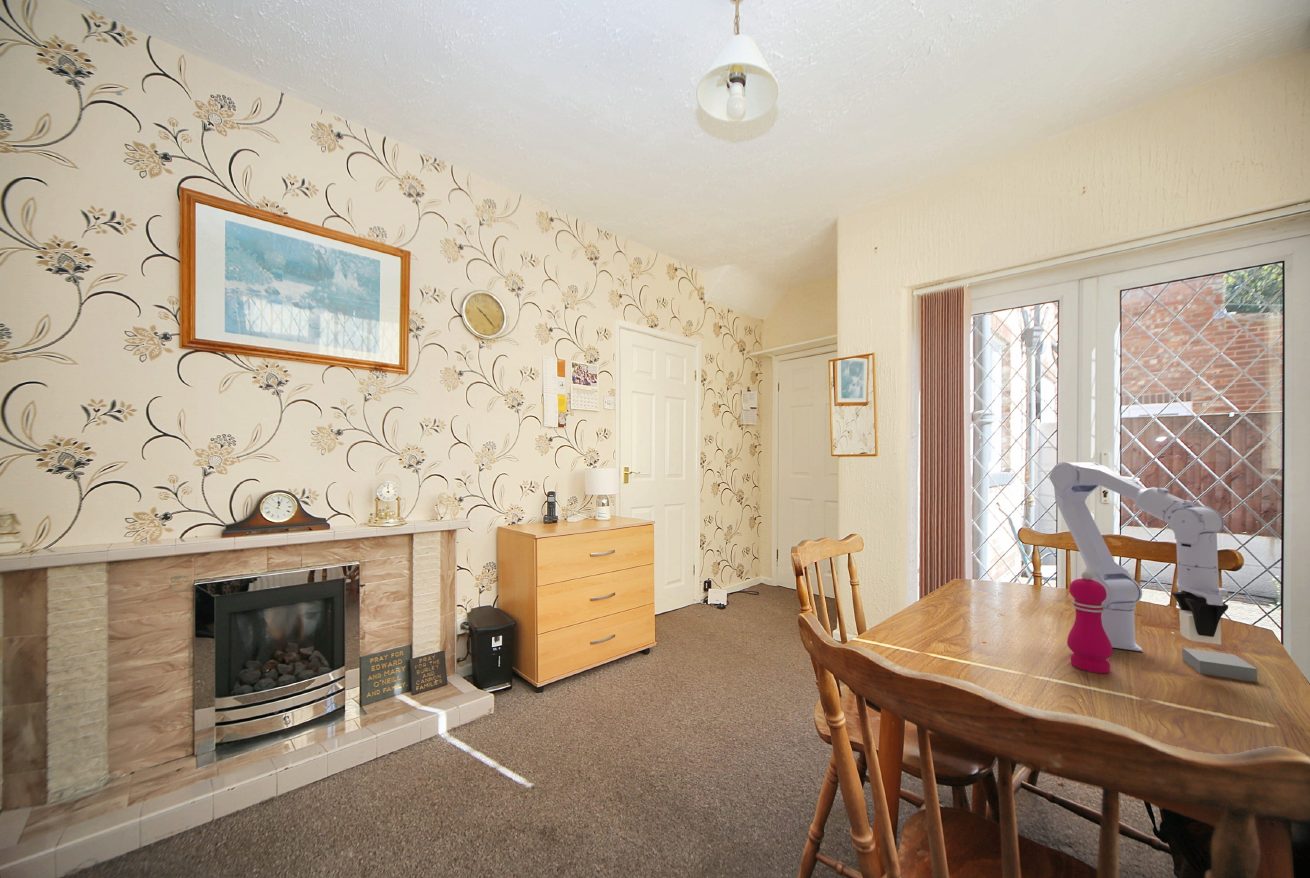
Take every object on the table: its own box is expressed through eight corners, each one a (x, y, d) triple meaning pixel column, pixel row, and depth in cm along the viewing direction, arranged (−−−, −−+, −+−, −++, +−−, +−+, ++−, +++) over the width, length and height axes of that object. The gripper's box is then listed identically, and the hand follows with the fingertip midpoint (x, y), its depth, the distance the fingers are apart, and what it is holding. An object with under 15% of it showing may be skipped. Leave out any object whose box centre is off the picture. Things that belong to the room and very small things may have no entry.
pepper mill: (1122, 676, 100) (1119, 576, 100) (1081, 673, 101) (1078, 574, 102) (1098, 661, 107) (1095, 568, 107) (1060, 659, 108) (1057, 567, 109)
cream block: (1189, 640, 100) (1188, 615, 101) (1180, 633, 104) (1179, 609, 105) (1221, 644, 98) (1220, 619, 98) (1210, 637, 102) (1209, 613, 102)
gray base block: (1200, 675, 101) (1199, 660, 101) (1182, 661, 108) (1182, 647, 108) (1257, 684, 97) (1256, 668, 97) (1235, 669, 104) (1234, 654, 104)
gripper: (1244, 574, 94) (1247, 647, 93) (1207, 561, 106) (1210, 624, 106) (1192, 570, 97) (1195, 640, 97) (1162, 557, 110) (1165, 619, 109)
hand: (1199, 631), depth 101 cm, fingers closed on cream block, 4 cm apart
